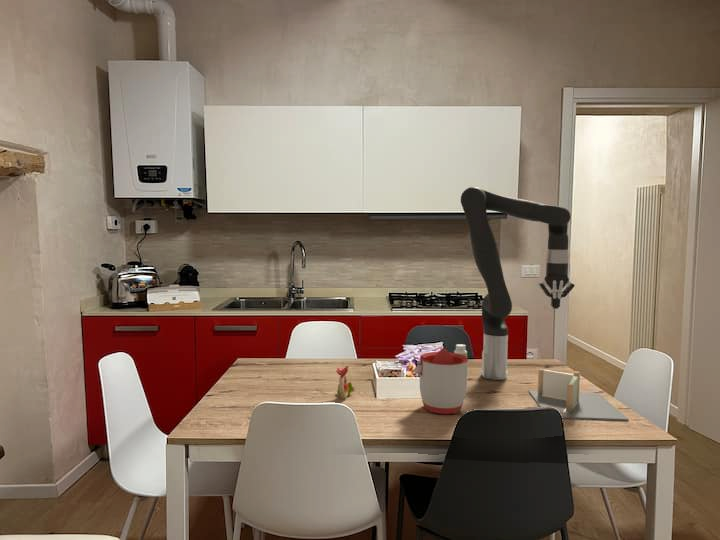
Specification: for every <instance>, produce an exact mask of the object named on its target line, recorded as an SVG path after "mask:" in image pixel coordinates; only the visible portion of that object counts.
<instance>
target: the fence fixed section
mask: <svg viewBox="0 0 720 540" xmlns="http://www.w3.org/2000/svg"><path fill="white" fill-rule="evenodd" d="M537 375H538V377H537V378H538V379H537V391H538V395H543V396H548V397H553V398H559V399H564V400H566V397H567V384H569V383H570V381H571V380H572V378H573V377H574V376H578V386H577V402H579V392H580V383H581V382H580V377H581V372H580V371H577V370H576V371H573V373H569V372H561V371H556V370H555V371H554V370H549V369H544V368H538V374H537Z"/></svg>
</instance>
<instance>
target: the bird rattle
mask: <svg viewBox="0 0 720 540" xmlns="http://www.w3.org/2000/svg"><path fill="white" fill-rule="evenodd" d="M348 368H349V366H347V365H346V366H345V367H343V368H342V369H340V368H337V369H336V373H337V374H338V376H339V381H338V385H337V391H336V394H337V396H339V397H341V399H342V401H343V400H344V401H346V399H347V397H348V396H351V393H352V392H354V391H355V387H354V386H353V383H352V382H351V381H349V382H348V380H347V376H346V375H347V373H348V372H349V369H348Z"/></svg>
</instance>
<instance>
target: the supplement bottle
mask: <svg viewBox="0 0 720 540" xmlns="http://www.w3.org/2000/svg"><path fill="white" fill-rule="evenodd" d="M453 353H456V354H461V355H464V356H466V357H467V358H468V351H467V350H466V344H462V343H461V344H460V343H459V344H458V343H457V344H455V349H454V350H453Z"/></svg>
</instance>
